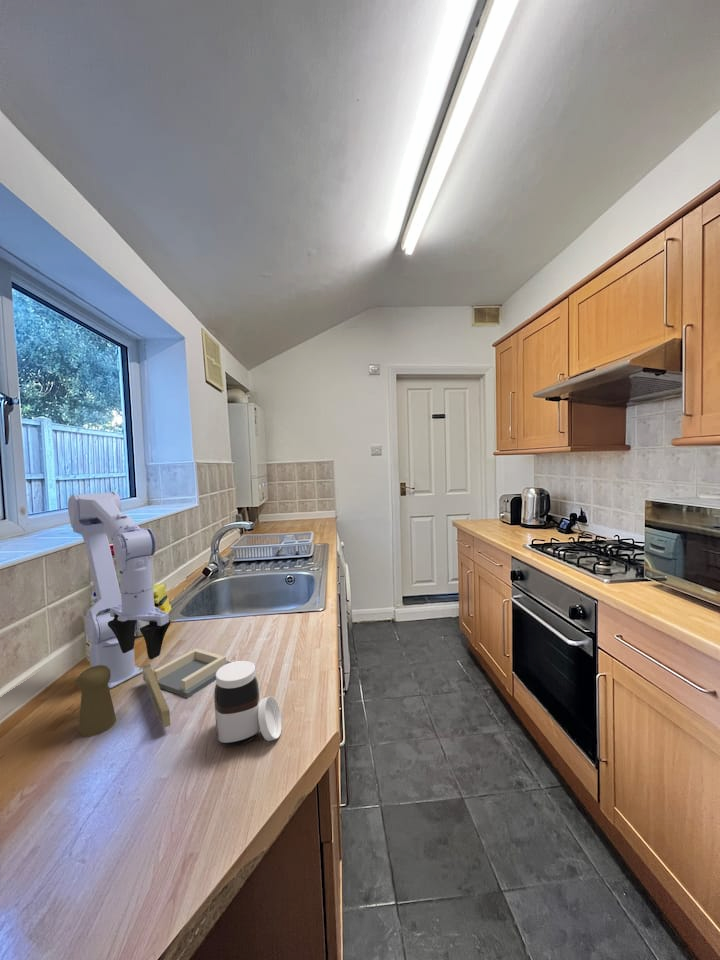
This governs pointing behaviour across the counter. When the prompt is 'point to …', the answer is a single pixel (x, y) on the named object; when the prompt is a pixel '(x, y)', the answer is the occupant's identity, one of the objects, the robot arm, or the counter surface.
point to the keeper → (156, 696)
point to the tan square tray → (189, 672)
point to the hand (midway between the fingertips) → (141, 653)
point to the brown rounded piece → (95, 701)
